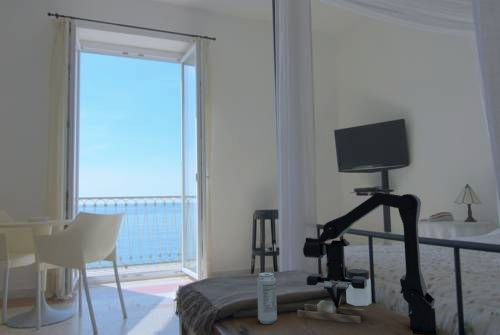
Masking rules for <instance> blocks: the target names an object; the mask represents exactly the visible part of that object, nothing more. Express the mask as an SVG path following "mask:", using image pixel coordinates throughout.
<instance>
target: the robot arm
mask: <svg viewBox="0 0 500 335" xmlns="http://www.w3.org/2000/svg"><path fill="white" fill-rule="evenodd" d="M382 206H386V207H390V208H396V209H398V213H399V218H400V219H401V222H402V226H403V228H402V229H403V241H404V255H405V257H404V258H405V275H403V276H402V277H400V279H399V282H400V283H399V284H400V287H401V290H400V292H399V293H400V294H402V297H403V299H404V300H403V301H405V302H406V303H407V304H409V306H410V310H411V311H410V312H409V325H410V326H409V327H410V329H411V331H412V333H415V334H422V335H438V330H437V329H438V328H437V321H436V317H437V316H436V308H435V307H434V306H435V303H436V298H434V297H433V296H432V295H431V294H430V293H429V292H428V290H427V286H426V282H425V279H424V276H423V273H422V269H421V268H422V267H421V255H420V251H421V250H420V239H419V220H420V215H421V206H422V202H421V199H420V198H419V196H417V195H416V194H412V193H406V194H402V195H400V194H393V193H389V192H388V193H387V192H384V191H377V192H375V193H374V194H373V195H372V196H371V197H369V198H367V199H366V200H365V201H363V202H362V203H360V204H358V205H357V206H355V207H354V208H353V209H351V210H350V211H349V212H347V213H346V214H343V215H342V216H340V217H337V218H334V219H332V220H330V221H327V222H326V223H324V225H323V228H322V232H321V234H320V236H319V237H309V236H308V237H305V242H304V244H303V247H302V252H303V256H304V257H305V258H306V259H307V258H309V259H323V258H324V257H325V256H326V263H325V266H326V267H325V268H326V270H325V271H326V276H323V275H322V273H311V274H309V275H308V276H307V277H306V285H307V286H317V285H318V283H321V284H324V286H323V289H325V290H326V291H327V292H328V294H329V296H330V298H331V301H333V302H334V305H335V307H336V308H339V307H340V304H341V301H342V298H343V294H344V292H345V291H346V290H347V289H348V287H349V285H352V287H353V288H356V289H365V287H366V286H367V280H366V278H365V277H360V276H354V277H353V278H352V279H346V278H347V275H348V270H349V269H348V267H347V266H346V264H345V247H349V246H350V245H351V243H350V242H349V241H347V239H346V238H345V237H343V236H344V235H345V234H346V233H347V232H348V231H349V230H350V229H351V228H352V227H353V225H354V224H355V223H357V222H359V221H360V220H362V219H363V218H364V217H366V216H368V215H369V214H371V213H373V211H375V210H377V209H378V208H380V207H382ZM341 237H343V238H341ZM339 238H341V240H339ZM337 239H338V240H337ZM328 241H331V242H328ZM337 285H338V286H337Z"/></svg>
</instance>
